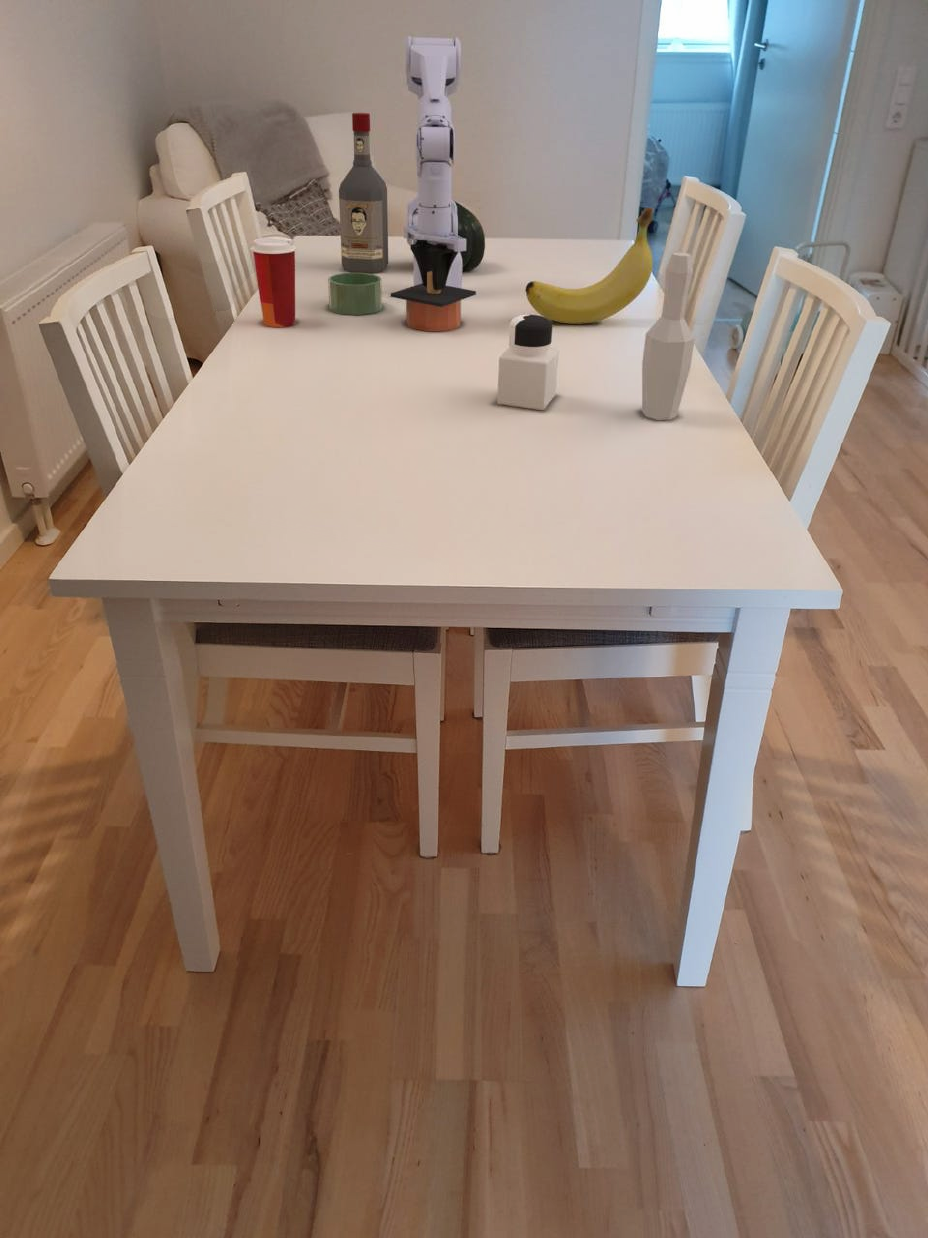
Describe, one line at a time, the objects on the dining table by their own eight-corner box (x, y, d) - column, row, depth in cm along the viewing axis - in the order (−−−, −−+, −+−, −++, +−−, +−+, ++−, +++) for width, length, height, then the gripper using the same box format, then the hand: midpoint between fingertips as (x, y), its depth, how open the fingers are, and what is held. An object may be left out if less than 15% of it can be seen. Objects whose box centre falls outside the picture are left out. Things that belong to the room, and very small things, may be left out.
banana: (525, 326, 174) (532, 208, 163) (521, 317, 179) (528, 202, 168) (647, 327, 176) (662, 210, 165) (640, 318, 181) (654, 204, 170)
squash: (485, 253, 200) (484, 187, 202) (413, 253, 200) (414, 188, 203) (485, 287, 214) (484, 225, 216) (418, 287, 214) (418, 226, 217)
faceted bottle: (654, 424, 134) (677, 261, 123) (628, 410, 139) (647, 251, 127) (690, 418, 137) (716, 257, 125) (663, 404, 142) (685, 247, 130)
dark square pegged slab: (426, 284, 178) (426, 262, 176) (476, 294, 173) (476, 271, 171) (390, 296, 170) (390, 273, 168) (441, 307, 165) (442, 283, 163)
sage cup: (361, 298, 188) (360, 269, 185) (392, 309, 182) (391, 279, 179) (319, 306, 182) (317, 277, 179) (350, 317, 176) (348, 287, 173)
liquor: (349, 262, 214) (344, 110, 198) (390, 264, 213) (387, 112, 197) (339, 271, 206) (333, 114, 190) (381, 274, 205) (378, 116, 189)
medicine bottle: (556, 395, 143) (562, 314, 137) (543, 411, 138) (549, 327, 131) (510, 389, 145) (514, 308, 139) (496, 404, 140) (499, 321, 133)
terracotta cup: (436, 313, 180) (437, 286, 177) (471, 325, 174) (472, 297, 171) (395, 322, 175) (395, 293, 172) (430, 334, 168) (430, 305, 166)
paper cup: (305, 318, 175) (300, 237, 168) (295, 329, 169) (289, 246, 161) (263, 315, 176) (256, 235, 168) (251, 327, 169) (244, 244, 162)
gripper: (389, 201, 166) (391, 282, 173) (444, 213, 157) (443, 298, 164) (421, 197, 170) (421, 276, 177) (476, 209, 161) (474, 292, 168)
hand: (433, 287), depth 171 cm, fingers closed on dark square pegged slab, 2 cm apart
